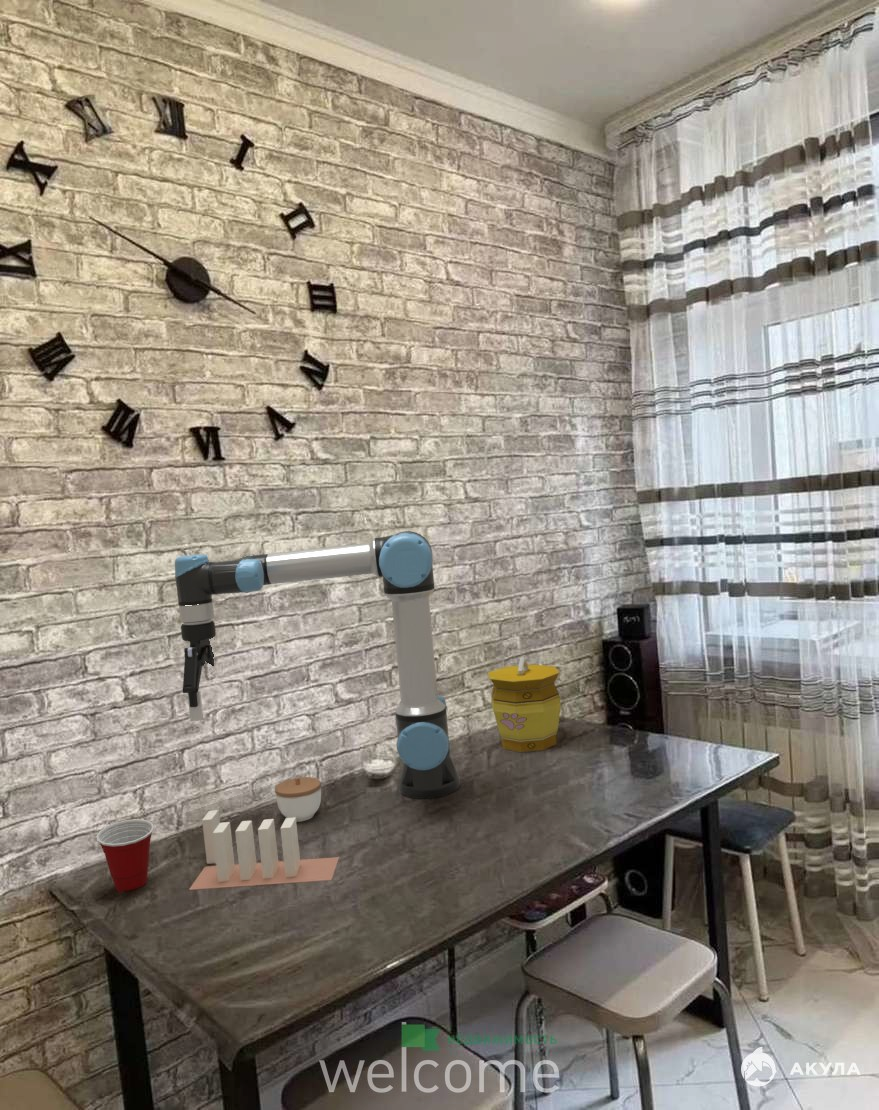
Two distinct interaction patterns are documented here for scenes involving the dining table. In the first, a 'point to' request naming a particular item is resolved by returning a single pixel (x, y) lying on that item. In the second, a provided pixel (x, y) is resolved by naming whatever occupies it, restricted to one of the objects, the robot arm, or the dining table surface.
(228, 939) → the dining table surface
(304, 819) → the lidded jar
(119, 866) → the plastic cup
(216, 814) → the domino
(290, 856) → the domino
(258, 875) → the strip
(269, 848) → the domino
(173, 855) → the dining table surface
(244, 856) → the domino
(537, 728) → the container
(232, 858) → the domino
